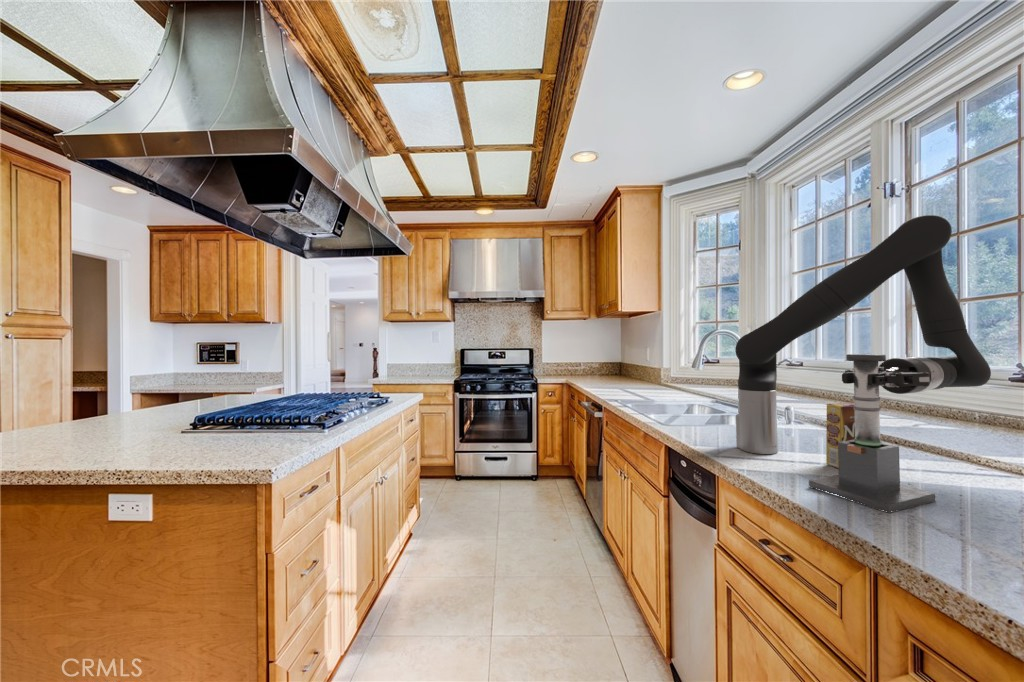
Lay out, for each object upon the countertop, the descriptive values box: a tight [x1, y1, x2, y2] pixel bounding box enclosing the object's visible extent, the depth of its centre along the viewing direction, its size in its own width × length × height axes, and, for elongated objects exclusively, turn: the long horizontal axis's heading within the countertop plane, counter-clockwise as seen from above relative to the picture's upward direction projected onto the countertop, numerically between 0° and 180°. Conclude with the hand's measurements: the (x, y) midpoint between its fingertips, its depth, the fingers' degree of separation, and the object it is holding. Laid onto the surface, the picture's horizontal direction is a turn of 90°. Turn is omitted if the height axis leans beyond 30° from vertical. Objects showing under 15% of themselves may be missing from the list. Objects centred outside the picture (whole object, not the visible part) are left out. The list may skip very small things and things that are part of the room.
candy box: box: [825, 402, 855, 469], centre depth 99 cm, size 9×4×15 cm, turn 98°
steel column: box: [845, 353, 887, 448], centre depth 82 cm, size 6×6×21 cm
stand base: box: [808, 440, 936, 513], centre depth 82 cm, size 14×14×10 cm
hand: (857, 379), depth 81 cm, fingers closed on steel column, 3 cm apart
